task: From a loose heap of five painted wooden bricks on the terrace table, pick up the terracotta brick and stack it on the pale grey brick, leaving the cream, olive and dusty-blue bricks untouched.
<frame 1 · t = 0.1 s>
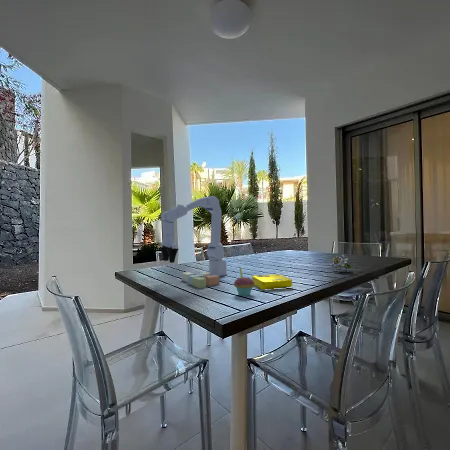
hand: (169, 261, 149), 10 cm above the table, tool pointing down, fingers open, 7 cm apart
olive brick: (199, 286, 138), on the table
blue brick: (195, 283, 144), on the table
element tile: (271, 287, 138), on the table
passion flower: (341, 271, 175), on the table
cream brick: (206, 280, 151), on the table
terracotta brick: (212, 284, 142), on the table
grey brick: (188, 281, 151), on the table
cupcake: (244, 294, 123), on the table
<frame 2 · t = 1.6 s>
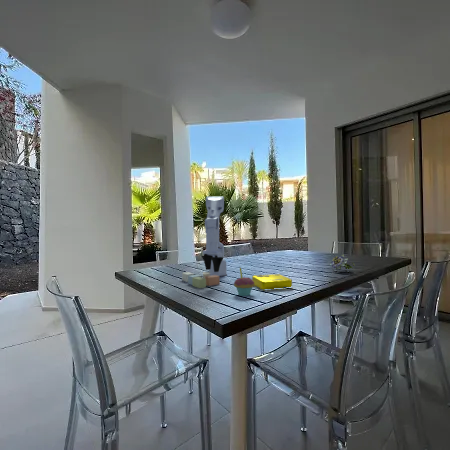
hand: (212, 270, 142), 7 cm above the table, tool pointing down, fingers open, 7 cm apart
nothing on the table moved.
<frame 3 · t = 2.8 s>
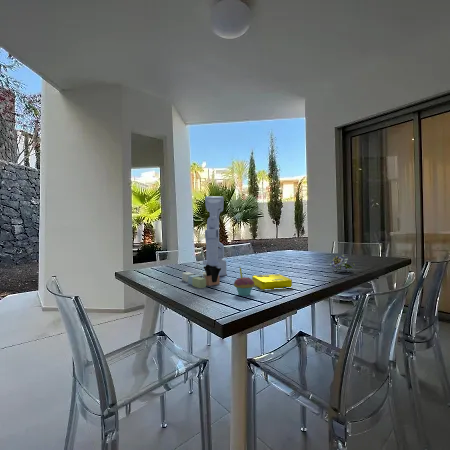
hand: (212, 281, 142), 1 cm above the table, tool pointing down, fingers closed on terracotta brick, 3 cm apart
terracotta brick: (212, 284, 142), on the table, touching gripper
everything else where it was.
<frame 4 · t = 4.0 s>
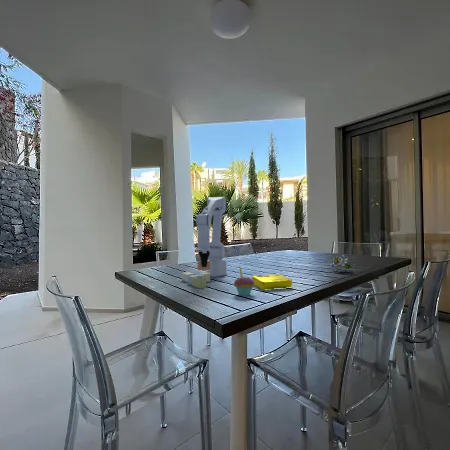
hand: (204, 266, 145), 8 cm above the table, tool pointing down, fingers closed on terracotta brick, 3 cm apart
terracotta brick: (203, 269, 145), point 7 cm above the table, touching gripper
everything else where it was.
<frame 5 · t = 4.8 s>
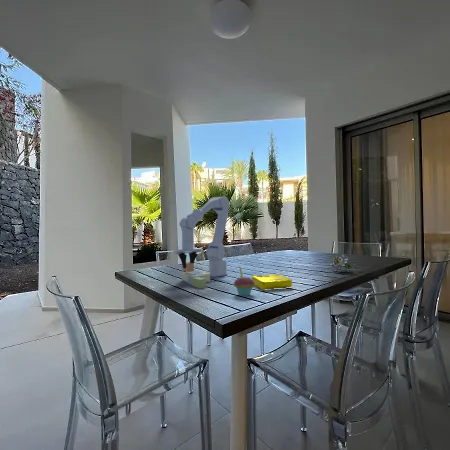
hand: (187, 267, 150), 7 cm above the table, tool pointing down, fingers closed on terracotta brick, 3 cm apart
terracotta brick: (188, 270, 150), point 5 cm above the table, touching gripper
everything else where it was.
when the fingers open (6 cm above the table, at t = 5.2 s): terracotta brick stays where it is, resting on grey brick.
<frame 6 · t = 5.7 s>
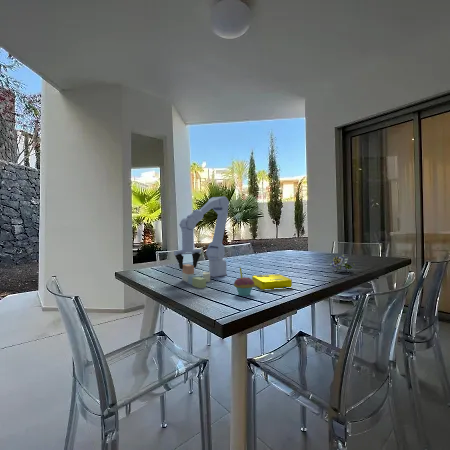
hand: (188, 268, 150), 6 cm above the table, tool pointing down, fingers open, 7 cm apart
terracotta brick: (188, 273, 150), point 4 cm above the table, touching grey brick
grey brick: (188, 280, 150), on the table, touching terracotta brick
everything else where it was.
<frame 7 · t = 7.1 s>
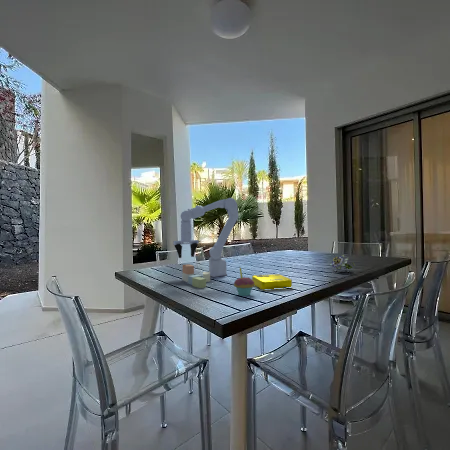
hand: (186, 257, 163), 10 cm above the table, tool pointing down, fingers open, 7 cm apart
nothing on the table moved.
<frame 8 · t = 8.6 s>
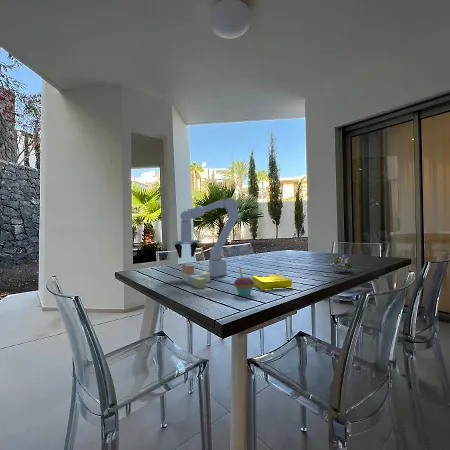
hand: (186, 257, 163), 10 cm above the table, tool pointing down, fingers open, 7 cm apart
nothing on the table moved.
at the end: terracotta brick 0.1 cm off-centre on the grey brick, point 4.0 cm above the grey brick's base; cream brick moved 0.2 cm from its start; olive brick moved 0.2 cm from its start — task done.
